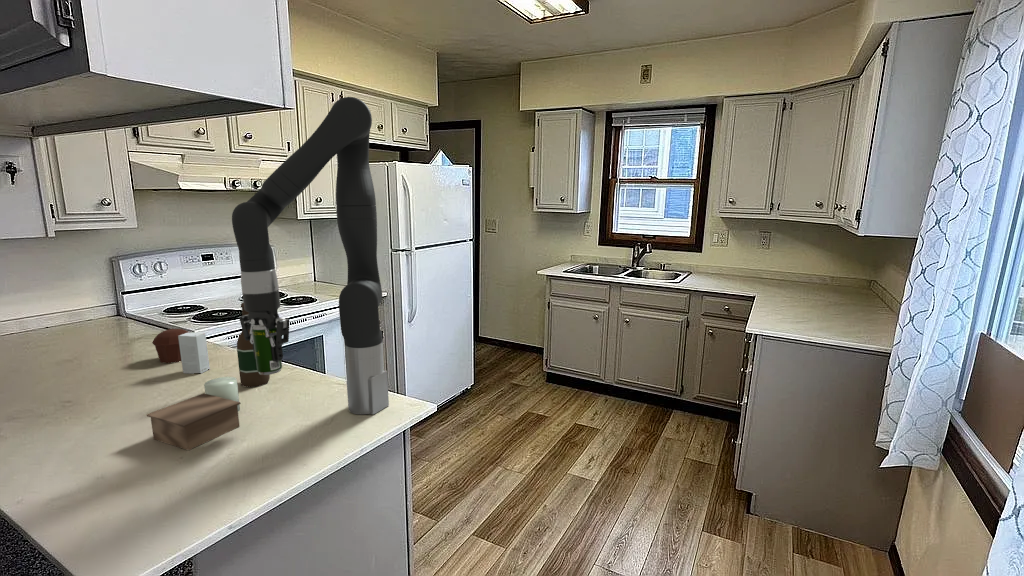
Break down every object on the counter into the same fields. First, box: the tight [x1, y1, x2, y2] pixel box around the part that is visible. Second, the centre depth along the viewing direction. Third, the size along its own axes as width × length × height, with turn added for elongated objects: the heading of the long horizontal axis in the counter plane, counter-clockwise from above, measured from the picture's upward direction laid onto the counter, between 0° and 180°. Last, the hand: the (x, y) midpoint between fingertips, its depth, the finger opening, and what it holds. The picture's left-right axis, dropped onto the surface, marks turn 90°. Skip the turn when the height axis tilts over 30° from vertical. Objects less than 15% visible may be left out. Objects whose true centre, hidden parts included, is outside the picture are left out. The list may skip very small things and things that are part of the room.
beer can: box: [252, 323, 283, 376], centre depth 115 cm, size 5×5×12 cm
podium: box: [146, 392, 241, 451], centre depth 111 cm, size 13×13×6 cm
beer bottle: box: [236, 302, 271, 388], centre depth 140 cm, size 8×8×24 cm
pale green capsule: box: [203, 376, 241, 413], centre depth 122 cm, size 7×7×8 cm
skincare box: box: [178, 331, 211, 374], centre depth 150 cm, size 6×4×12 cm
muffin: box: [151, 328, 191, 364], centre depth 162 cm, size 12×11×10 cm
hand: (268, 359), depth 116 cm, fingers closed on beer can, 5 cm apart
